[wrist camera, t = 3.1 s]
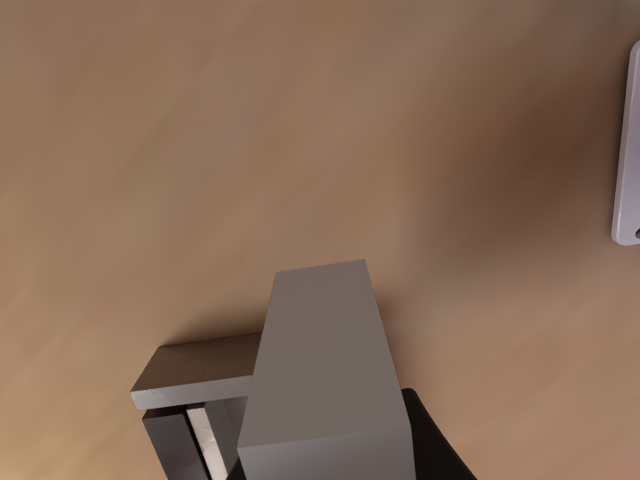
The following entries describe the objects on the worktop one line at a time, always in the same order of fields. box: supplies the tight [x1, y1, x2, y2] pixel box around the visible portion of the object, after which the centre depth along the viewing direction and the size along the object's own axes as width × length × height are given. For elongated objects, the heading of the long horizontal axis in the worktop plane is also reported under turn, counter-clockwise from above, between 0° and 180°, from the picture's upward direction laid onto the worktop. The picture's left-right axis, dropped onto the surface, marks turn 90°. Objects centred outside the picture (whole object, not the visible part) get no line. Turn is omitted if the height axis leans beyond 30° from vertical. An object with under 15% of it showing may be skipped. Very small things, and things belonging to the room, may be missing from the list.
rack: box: [130, 333, 262, 480], centre depth 19 cm, size 9×12×3 cm
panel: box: [237, 259, 416, 480], centre depth 9 cm, size 2×7×6 cm, turn 9°
